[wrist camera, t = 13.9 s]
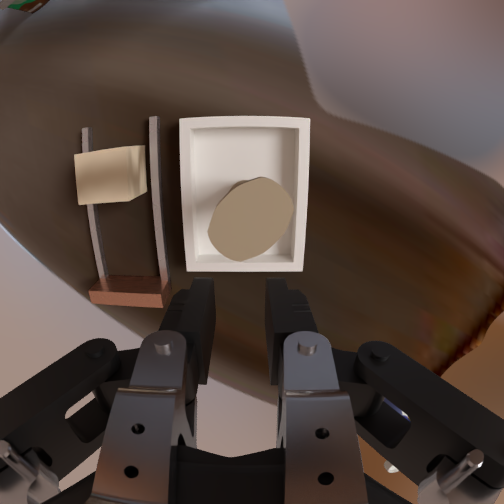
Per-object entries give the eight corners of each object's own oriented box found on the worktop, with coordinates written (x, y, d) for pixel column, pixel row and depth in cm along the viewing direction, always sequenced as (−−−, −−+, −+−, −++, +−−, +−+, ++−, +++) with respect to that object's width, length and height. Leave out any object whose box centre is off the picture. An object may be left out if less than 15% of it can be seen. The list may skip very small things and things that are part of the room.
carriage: (98, 151, 32) (74, 154, 26) (144, 145, 32) (126, 146, 26) (101, 194, 34) (78, 204, 28) (147, 191, 34) (129, 201, 28)
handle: (277, 188, 34) (306, 213, 20) (240, 224, 35) (242, 273, 21) (249, 160, 33) (259, 163, 18) (211, 198, 34) (194, 229, 20)
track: (86, 128, 30) (66, 128, 26) (159, 117, 31) (146, 113, 26) (105, 286, 39) (91, 303, 34) (171, 289, 39) (163, 307, 35)
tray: (185, 120, 31) (179, 118, 28) (304, 120, 31) (310, 118, 28) (191, 261, 38) (186, 271, 35) (298, 261, 38) (302, 271, 35)
